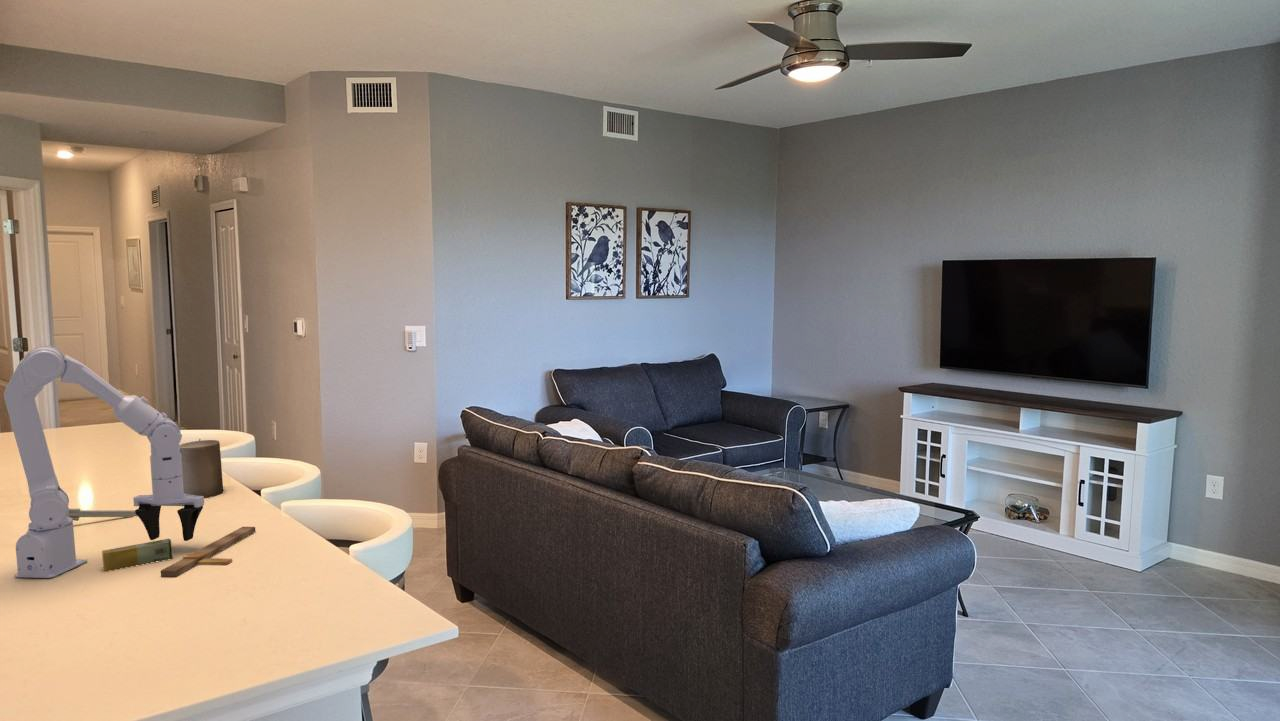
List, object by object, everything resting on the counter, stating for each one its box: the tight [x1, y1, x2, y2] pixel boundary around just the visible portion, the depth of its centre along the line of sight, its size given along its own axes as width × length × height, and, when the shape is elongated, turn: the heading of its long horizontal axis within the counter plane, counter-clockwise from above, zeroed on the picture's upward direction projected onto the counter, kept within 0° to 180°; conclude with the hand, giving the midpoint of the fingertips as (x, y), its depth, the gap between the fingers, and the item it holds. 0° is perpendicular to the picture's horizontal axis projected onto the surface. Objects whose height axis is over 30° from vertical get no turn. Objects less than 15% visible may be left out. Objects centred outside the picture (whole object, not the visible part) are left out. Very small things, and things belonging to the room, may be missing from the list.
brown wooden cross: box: [160, 526, 256, 578], centre depth 174 cm, size 28×9×2 cm, turn 175°
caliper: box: [68, 508, 138, 521], centre depth 197 cm, size 20×1×6 cm, turn 128°
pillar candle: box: [180, 438, 225, 498], centre depth 221 cm, size 10×10×15 cm
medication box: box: [101, 538, 174, 572], centre depth 168 cm, size 12×3×4 cm, turn 126°
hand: (171, 539), depth 177 cm, fingers open, 7 cm apart
